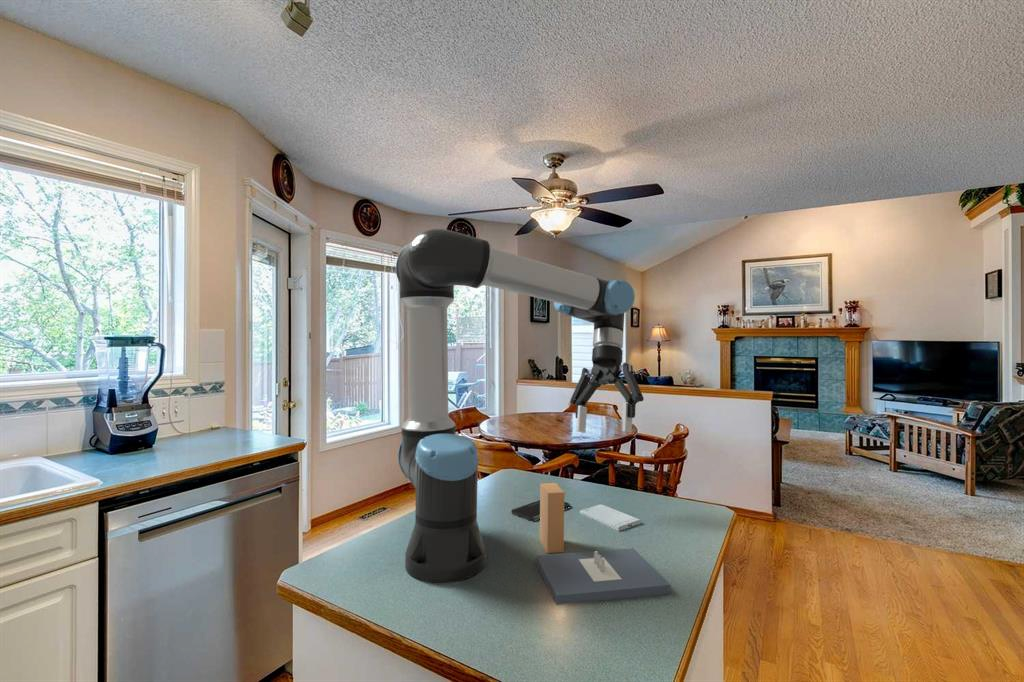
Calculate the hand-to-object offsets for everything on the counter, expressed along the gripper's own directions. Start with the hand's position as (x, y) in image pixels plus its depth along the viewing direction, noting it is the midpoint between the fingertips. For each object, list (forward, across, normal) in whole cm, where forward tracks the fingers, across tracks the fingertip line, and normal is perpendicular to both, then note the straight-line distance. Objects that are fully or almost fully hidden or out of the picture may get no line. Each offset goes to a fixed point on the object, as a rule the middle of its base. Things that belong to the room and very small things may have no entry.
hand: (602, 432), depth 109 cm
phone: (+20, +17, +1) cm, 26 cm away
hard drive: (+20, +2, -8) cm, 22 cm away
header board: (+29, -13, +16) cm, 35 cm away
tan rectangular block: (+26, +2, +13) cm, 29 cm away
